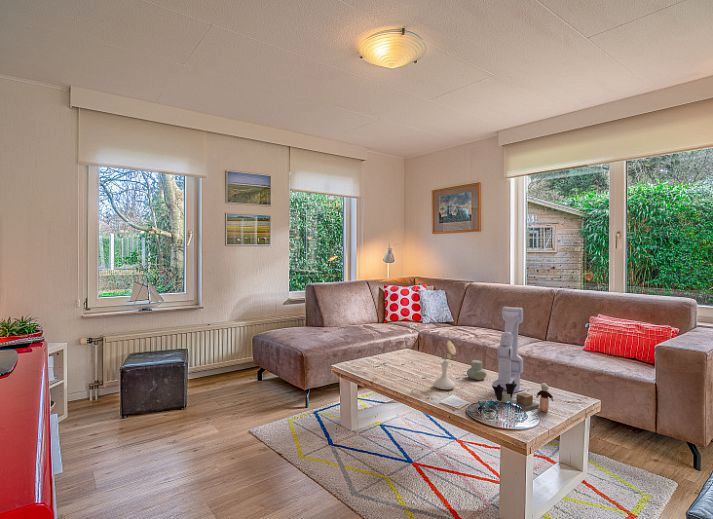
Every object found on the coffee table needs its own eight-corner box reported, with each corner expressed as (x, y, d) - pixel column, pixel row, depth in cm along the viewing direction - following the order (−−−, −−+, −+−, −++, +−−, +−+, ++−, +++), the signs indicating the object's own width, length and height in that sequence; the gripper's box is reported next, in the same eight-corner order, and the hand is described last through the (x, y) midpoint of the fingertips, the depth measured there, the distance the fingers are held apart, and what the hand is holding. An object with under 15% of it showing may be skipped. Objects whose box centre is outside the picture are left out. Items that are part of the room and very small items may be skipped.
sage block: (498, 401, 195) (498, 393, 195) (503, 400, 197) (503, 392, 197) (504, 404, 192) (505, 395, 192) (510, 402, 194) (510, 394, 194)
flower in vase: (444, 392, 207) (444, 344, 206) (428, 386, 216) (429, 340, 216) (461, 388, 214) (462, 341, 214) (446, 382, 223) (446, 337, 223)
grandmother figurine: (534, 410, 184) (535, 382, 184) (536, 407, 187) (536, 380, 187) (553, 414, 179) (553, 386, 179) (554, 411, 183) (554, 383, 183)
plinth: (509, 405, 190) (509, 401, 190) (522, 401, 195) (522, 398, 195) (526, 411, 183) (526, 408, 183) (538, 407, 187) (538, 404, 187)
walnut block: (516, 402, 189) (516, 394, 189) (523, 400, 192) (523, 392, 192) (525, 405, 185) (525, 397, 185) (532, 403, 188) (532, 395, 188)
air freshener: (471, 381, 226) (471, 363, 226) (464, 377, 234) (464, 359, 234) (488, 380, 228) (489, 362, 228) (481, 376, 236) (481, 359, 236)
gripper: (501, 375, 187) (500, 404, 187) (521, 370, 194) (521, 398, 195) (489, 371, 193) (488, 399, 193) (509, 367, 201) (508, 394, 201)
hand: (504, 399), depth 194 cm, fingers open, 7 cm apart
